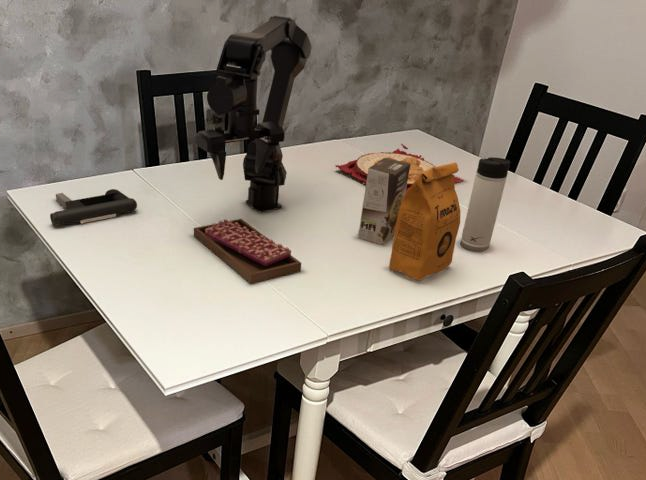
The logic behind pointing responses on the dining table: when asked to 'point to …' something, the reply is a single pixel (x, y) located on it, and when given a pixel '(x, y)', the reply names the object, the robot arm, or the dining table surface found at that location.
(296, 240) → the dining table surface
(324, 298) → the dining table surface
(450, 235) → the coffee package
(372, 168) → the coffee box
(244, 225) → the tray
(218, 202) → the dining table surface
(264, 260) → the pink flat grid slab
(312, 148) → the dining table surface
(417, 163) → the plate with food
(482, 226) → the travel mug
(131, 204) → the door handle
